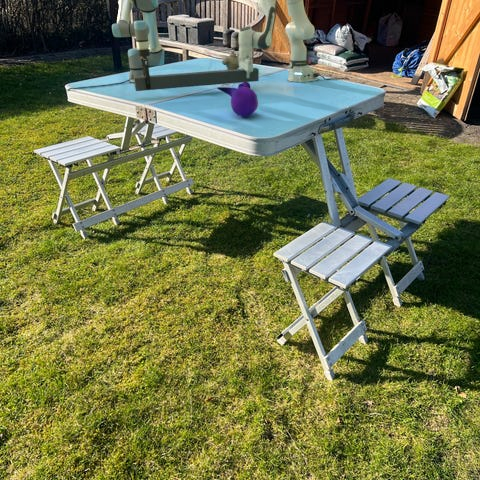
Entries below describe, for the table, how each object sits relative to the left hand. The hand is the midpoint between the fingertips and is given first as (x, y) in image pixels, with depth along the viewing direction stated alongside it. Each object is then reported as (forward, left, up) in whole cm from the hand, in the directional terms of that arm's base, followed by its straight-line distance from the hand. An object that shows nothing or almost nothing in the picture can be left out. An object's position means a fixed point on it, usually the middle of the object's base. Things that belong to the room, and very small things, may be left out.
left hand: (148, 88), depth 285 cm
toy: (+44, -56, -7) cm, 71 cm away
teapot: (+80, +76, -7) cm, 111 cm away
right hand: (+66, 0, +2) cm, 66 cm away
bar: (+33, 0, -1) cm, 33 cm away
